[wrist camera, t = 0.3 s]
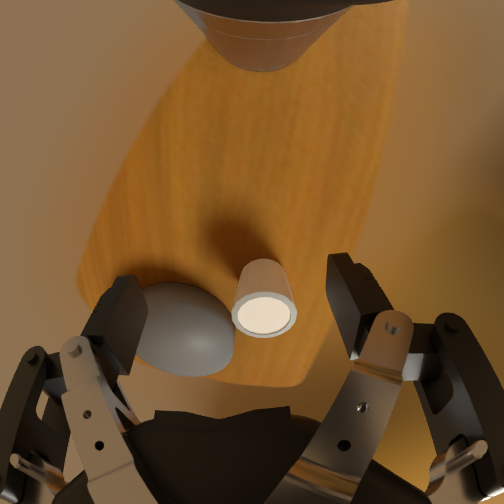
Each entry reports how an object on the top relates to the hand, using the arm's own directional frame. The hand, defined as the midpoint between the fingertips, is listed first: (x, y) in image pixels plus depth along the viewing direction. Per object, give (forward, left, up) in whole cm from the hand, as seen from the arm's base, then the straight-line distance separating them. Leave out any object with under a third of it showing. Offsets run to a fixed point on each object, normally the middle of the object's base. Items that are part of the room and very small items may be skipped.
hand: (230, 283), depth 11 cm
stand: (+23, -8, -19) cm, 31 cm away
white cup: (+13, +3, -19) cm, 23 cm away
